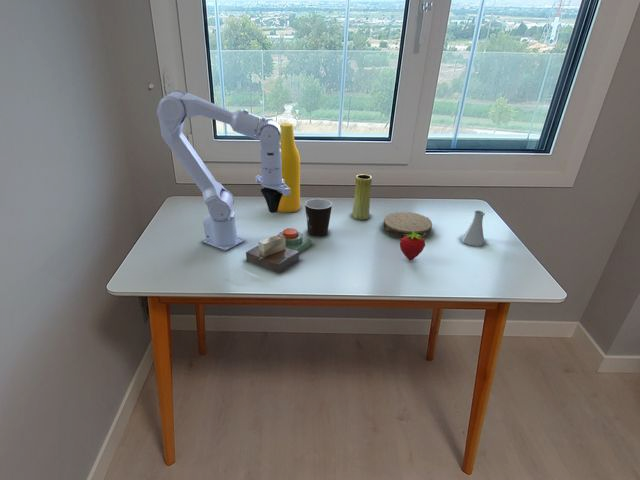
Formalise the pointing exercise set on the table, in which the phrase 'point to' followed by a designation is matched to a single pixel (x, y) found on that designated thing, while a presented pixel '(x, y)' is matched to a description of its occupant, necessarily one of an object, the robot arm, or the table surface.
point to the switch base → (273, 259)
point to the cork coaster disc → (407, 224)
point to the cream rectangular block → (272, 245)
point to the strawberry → (412, 245)
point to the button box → (297, 242)
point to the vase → (362, 197)
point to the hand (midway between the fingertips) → (273, 211)
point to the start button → (290, 233)
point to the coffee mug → (318, 216)
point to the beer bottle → (290, 169)
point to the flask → (475, 230)
